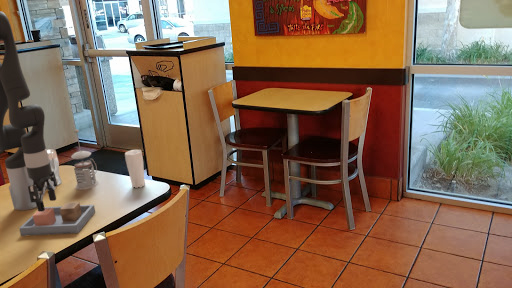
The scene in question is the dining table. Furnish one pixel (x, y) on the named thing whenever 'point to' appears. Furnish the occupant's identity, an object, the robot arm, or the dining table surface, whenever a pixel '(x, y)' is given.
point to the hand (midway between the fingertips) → (47, 205)
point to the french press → (84, 175)
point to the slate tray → (58, 223)
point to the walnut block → (70, 212)
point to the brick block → (44, 217)
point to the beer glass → (54, 164)
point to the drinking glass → (135, 167)
